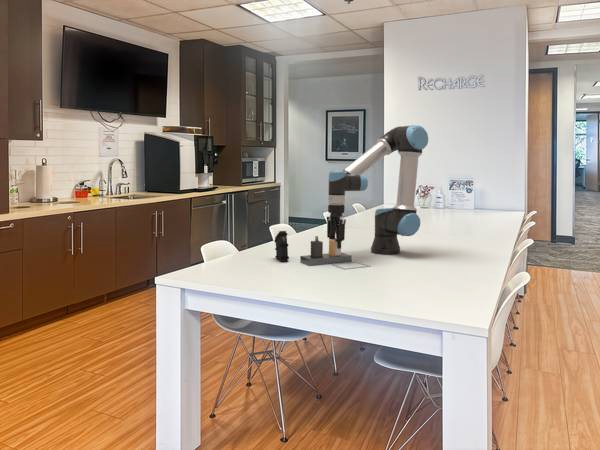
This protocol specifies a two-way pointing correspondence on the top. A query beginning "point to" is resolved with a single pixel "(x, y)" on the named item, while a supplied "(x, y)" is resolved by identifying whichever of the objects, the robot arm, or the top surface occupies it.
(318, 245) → the twin plug
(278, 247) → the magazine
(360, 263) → the tray
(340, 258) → the slotted metal block
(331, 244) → the plug
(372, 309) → the top surface
